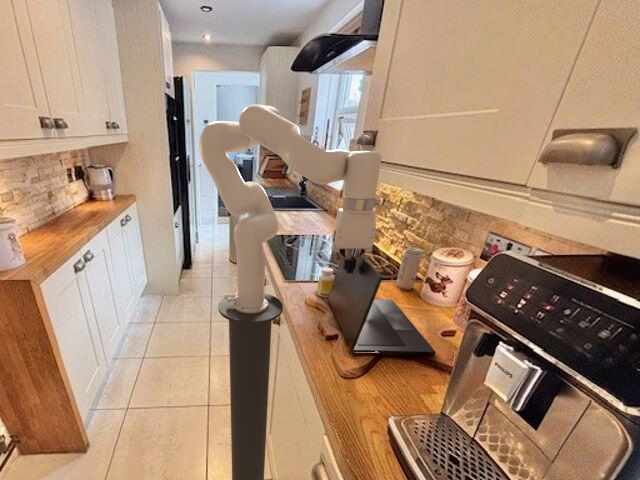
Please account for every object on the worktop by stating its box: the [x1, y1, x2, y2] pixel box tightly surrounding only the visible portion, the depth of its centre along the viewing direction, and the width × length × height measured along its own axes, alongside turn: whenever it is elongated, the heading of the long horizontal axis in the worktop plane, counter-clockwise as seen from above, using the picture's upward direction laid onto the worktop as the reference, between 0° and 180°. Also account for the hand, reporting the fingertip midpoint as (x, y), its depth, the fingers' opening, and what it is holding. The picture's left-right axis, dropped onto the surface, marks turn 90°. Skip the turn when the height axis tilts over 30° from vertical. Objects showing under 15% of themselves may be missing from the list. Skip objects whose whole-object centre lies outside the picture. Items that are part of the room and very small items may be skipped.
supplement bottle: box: [316, 267, 335, 298], centre depth 117 cm, size 5×5×10 cm
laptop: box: [329, 298, 437, 358], centre depth 98 cm, size 21×30×2 cm
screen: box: [327, 249, 384, 350], centre depth 94 cm, size 21×30×1 cm
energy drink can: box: [396, 246, 423, 290], centre depth 121 cm, size 6×6×15 cm
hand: (348, 271), depth 91 cm, fingers closed
